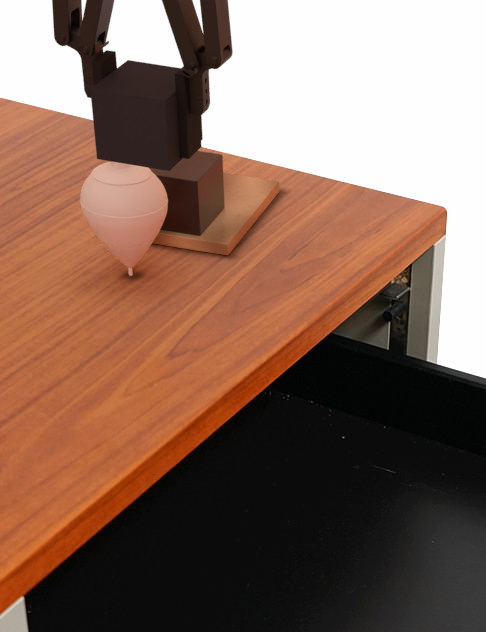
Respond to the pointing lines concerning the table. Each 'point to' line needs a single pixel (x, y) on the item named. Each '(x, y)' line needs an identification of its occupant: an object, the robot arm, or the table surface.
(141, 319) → the table surface
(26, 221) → the table surface
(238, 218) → the board
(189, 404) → the table surface
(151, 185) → the spinning top
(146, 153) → the black cube
